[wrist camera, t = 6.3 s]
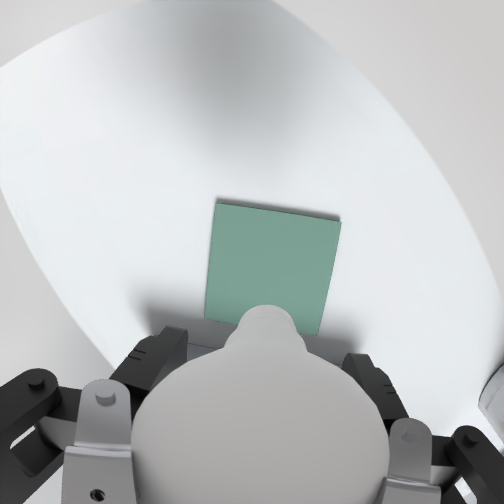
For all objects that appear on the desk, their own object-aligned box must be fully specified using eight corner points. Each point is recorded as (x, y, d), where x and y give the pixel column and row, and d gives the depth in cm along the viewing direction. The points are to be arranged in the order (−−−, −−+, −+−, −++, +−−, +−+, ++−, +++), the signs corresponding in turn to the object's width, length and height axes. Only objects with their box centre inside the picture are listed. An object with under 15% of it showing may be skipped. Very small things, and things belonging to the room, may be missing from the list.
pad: (340, 221, 20) (341, 222, 20) (316, 333, 22) (317, 335, 22) (217, 203, 20) (215, 203, 20) (205, 316, 22) (204, 318, 22)
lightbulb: (213, 245, 12) (28, 444, 2) (348, 273, 12) (495, 486, 2) (195, 359, 14) (113, 553, 3) (311, 382, 14) (335, 582, 3)
